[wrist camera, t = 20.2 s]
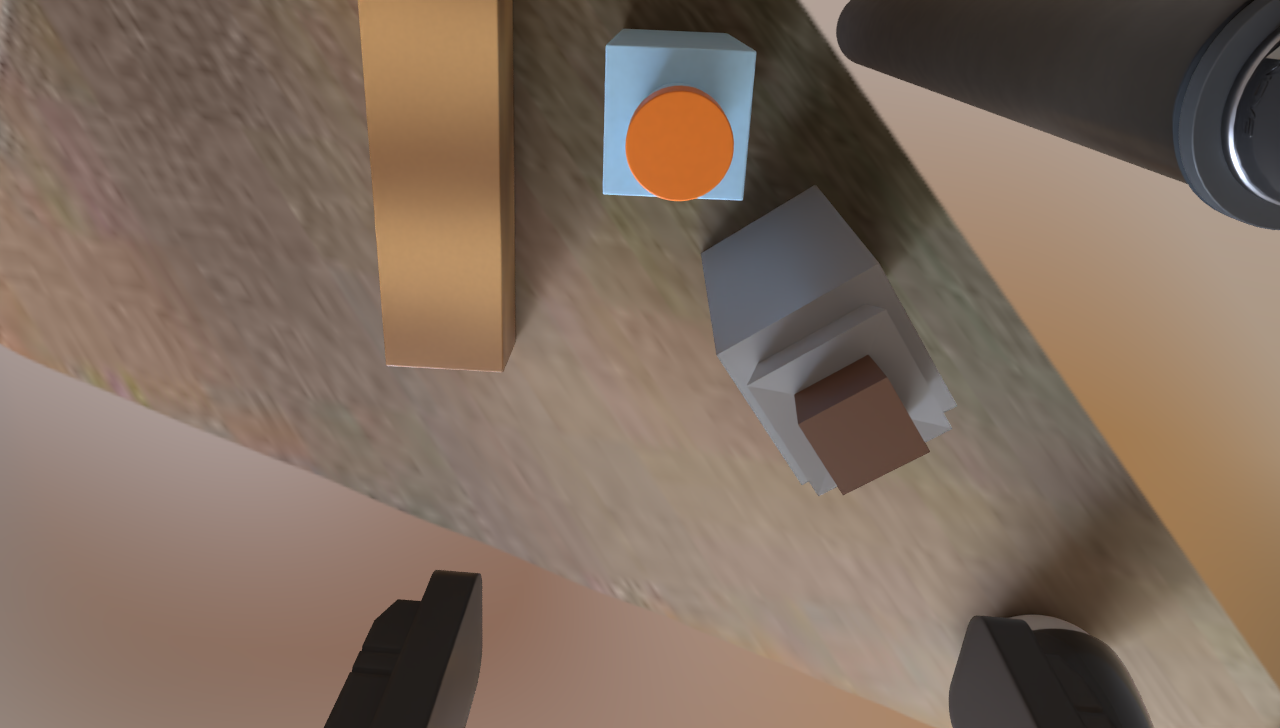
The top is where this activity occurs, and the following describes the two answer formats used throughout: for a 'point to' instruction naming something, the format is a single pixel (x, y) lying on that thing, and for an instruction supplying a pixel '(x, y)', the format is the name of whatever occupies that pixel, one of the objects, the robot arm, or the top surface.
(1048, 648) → the pump dispenser
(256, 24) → the top surface
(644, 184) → the light blue bottle
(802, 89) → the top surface
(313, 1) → the top surface
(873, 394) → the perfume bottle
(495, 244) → the wooden board
